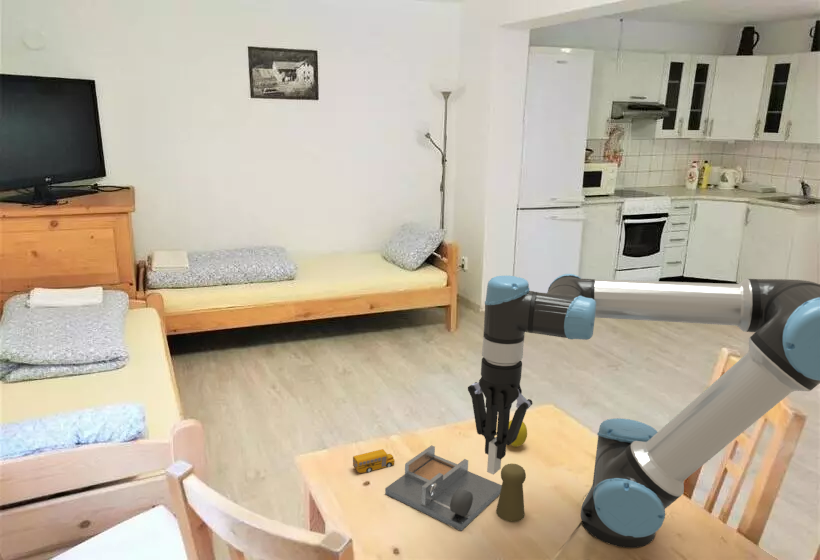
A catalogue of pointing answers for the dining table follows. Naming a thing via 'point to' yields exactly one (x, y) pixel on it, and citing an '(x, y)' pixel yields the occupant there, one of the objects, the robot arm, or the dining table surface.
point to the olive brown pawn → (511, 493)
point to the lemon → (520, 435)
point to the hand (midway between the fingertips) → (493, 470)
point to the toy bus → (372, 461)
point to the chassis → (441, 488)
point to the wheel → (461, 502)
